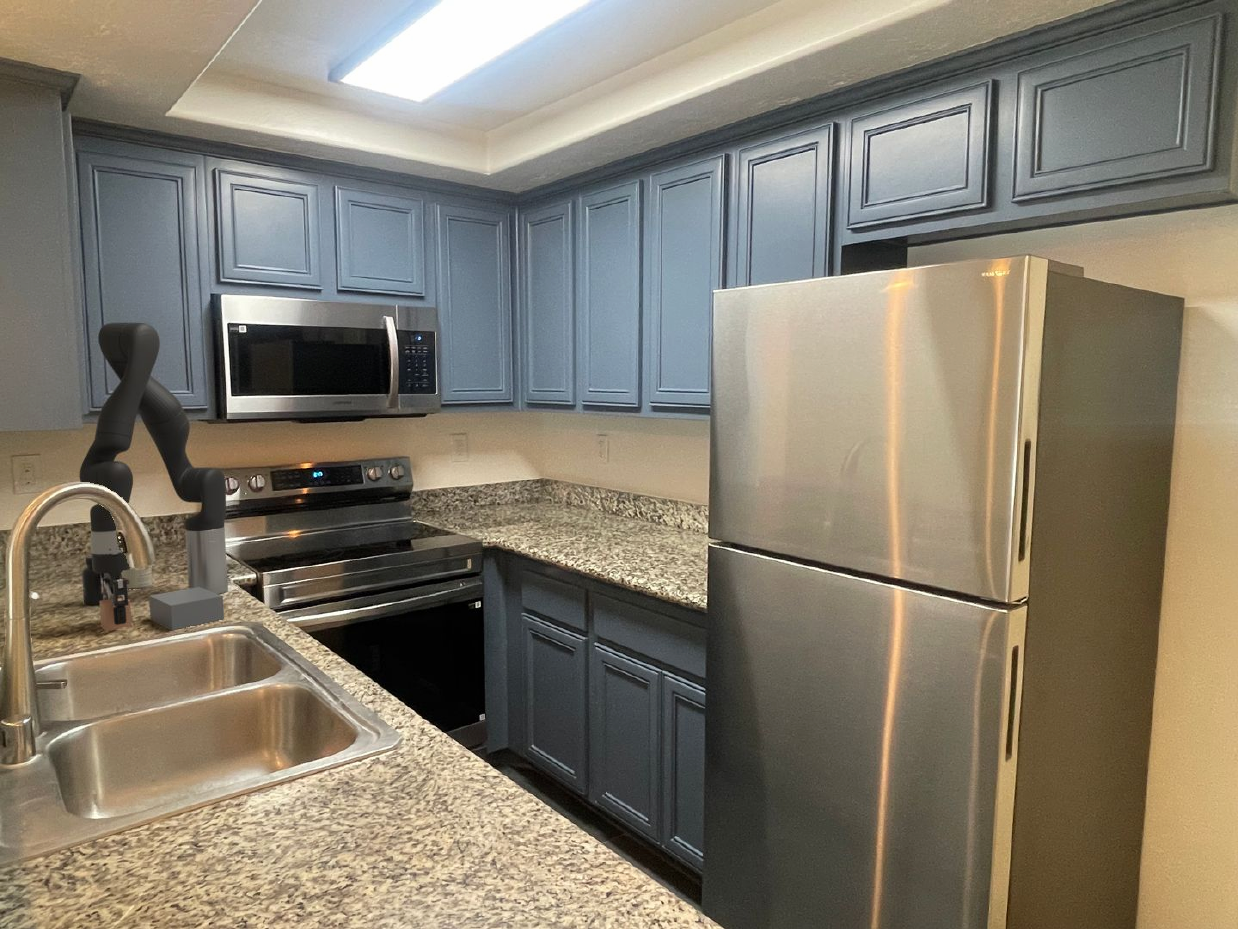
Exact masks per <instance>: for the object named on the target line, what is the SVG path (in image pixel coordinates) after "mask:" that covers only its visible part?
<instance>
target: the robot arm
mask: <svg viewBox="0 0 1238 929" xmlns="http://www.w3.org/2000/svg"><path fill="white" fill-rule="evenodd" d="M97 340H98V345H99V348H100V351H101V353H102V355H103V357H104V358H105V360H106V361H107V363H108V365H109V366H110V367H111V370H113V373H115V375H116V376H117V378H118V379H119V384H117V386H116V387H115V389H114V390H113V392H112V393H111V394H110V396H109V397H108V398H107V399H106V401H105V402H104V404H103V406H102V407H101V409H100V412H99V414H98V415H99V416H98V419H97V425H96V431H95V436H94V439H93V441H92V443H91V445H90V448H89V449H88V451H87V452H86V454H85V457H84V459H83V461H82V463H81V466H80V468H79V481H80V483H81V482H90V483H94V484H99V485H103V486H105V487H107V488H108V489H110V490H111V491H114V492H116V493H117V494H118V495H119V496H120V497H123V499H124V500H125V501H126V502H127V503H129V504H130V500H131V495H132V491H133V490H132V489H133V485H134V475H133V472H132V469H131V467H130V466H129V465H127V463H125V462H123V461H121V460H119V461H118V460H115V459H116V457H117V456H118V455H119V454H121V453H123V452H124V453H125V452H127V451H129V449H130V448H131V444H132V440H133V435H134V430H135V425H136V420H137V419H136V418H137V415H138V414H139V416H140V418H141V421H142V422H143V424H144V426H145V428H146V430H147V432H148V434H149V436H150V437H151V439H152V440H153V443H154V444H155V447H156V448H157V450H158V453H159V454H160V457H161V459H162V461H163V463H164V466H165V468H166V471H167V473H168V476H169V478H170V479H169V480H170V481H171V485H172V487H173V489H174V491H175V493H176V494H177V496H178V498H180V499H181V501H183V502H185V503H191V504H193V503H200V504H201V509H200V511H199V512H198V513H196V514H195V515H192V516H188V517H187V518H186V519H185V520H184V532H185V546H186V549H185V550H186V561H187V562H186V563H187V564H186V565H187V581H188V589H190V588H196V587H201V588H203V589H206V590H208V591H211V592H214V593H216V594H219V595H221V594H223V593H226V592H228V591H229V582H228V564H227V563H228V562H227V549H226V548H227V546H226V533H225V519H226V515H227V484H226V482H227V481H226V477H225V474H224V473H223V470H221V469H219V468H217V467H194V466H193V465H192V463H191V462H190V460H189V457H188V455H187V452H186V446H187V444H188V443H187V442H188V439H189V435H190V429H191V425H190V424H191V423H190V421H189V418H188V417H187V415H186V412H185V410H184V407H183V406H182V403H181V402H180V401H179V399H178V398H177V397H176V396H175V395H174V394H173V392H171V391H170V390H169V389H168V388H166V387H165V386H164V385H163V384H162V383H160V382H159V381H158V380H156V379H155V378H154V377H153V376H152V375H151V374H152V371H153V369H154V366H155V364H156V361H157V358H158V356H159V355H158V354H159V352H160V346H161V342H160V336H159V334H158V331H157V330H156V329H155V327H153V325H151V324H149V323H145V322H110V323H106V324H104V325H102V327H101V328H100V329H99V332H98V336H97ZM99 504H100V503H97V504H94V505H93V506H91V508H90V509H89V510H90V511H89V514H90V515H89V517H90V530H91V532H90V533H91V536H90V552H91V556H92V569H93V571H94V572H95V573H100V577H101V595H102V597H103V599H104V600H108V599H109V600H111V601H112V604H113V605H112V606H113V611H114V623H115V624H116V625H119V624H124V623H126V607H125V606H127V605H128V603H129V601H128V599H129V597H128V596H129V594H128V592H129V591H127V580H126V578H123V572H122V571H124V570H128V569H130V567H129V564H128V563H127V559H126V556H125V555H124V554H123V552H121V551H120V550H119V547H118V544H117V536H116V526H115V523H114V520H113V518H112V516H111V514H110V512H109V511H108V510H106V509H105V508H104V507H102V506H101V505H99ZM119 598H121V599H122V601H118V599H119Z"/></svg>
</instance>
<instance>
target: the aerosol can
mask: <svg viewBox="0 0 1238 929" xmlns="http://www.w3.org/2000/svg"><path fill="white" fill-rule="evenodd" d="M145 525H146V527H147V528H148V531H149V532H150V528H149V525H148V524H145ZM122 578H126V580H127V589H128V590H129V589H131V590H133V589H145V590H147V589H146V588H149V587H151V586H152V585H153V568H152V566H151V567H150V568H148V569H147V570H132V569H128V570H124V571H122ZM149 589H150V588H149Z"/></svg>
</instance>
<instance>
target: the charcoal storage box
mask: <svg viewBox="0 0 1238 929" xmlns="http://www.w3.org/2000/svg"><path fill="white" fill-rule="evenodd" d="M148 600H149V613H150V621H152V620H153V621H152V622H154V621H155V622H154V623H156V624H158V625H160V626H162V627H164V628H166V629H168V630H170V631H172V632H173V631H180V630H184V629H187V628H186V627H189V628H191V627H190V626H194V627H198V626H197V625H199V626H202V625H201V624H204V625H206V624H205V623H208V624H211V623H210V622H213V623H216V622H215V621H218V622H220V621H219V620H223V619H224V620H225V616H224V615H225V612H224V610H225V609H224V596H223V595H221V594H216V593H214V592H211V591H208V590H206V589H203V588H201V587H196V588H190V589H189V588H186V589H185V588H184V589H180V590H179V589H178V590H175V591H168V592H163V593H157V594H150V595H149V596H148ZM224 620H223V621H224ZM183 628H184V629H183ZM179 629H180V630H179Z"/></svg>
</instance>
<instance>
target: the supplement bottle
mask: <svg viewBox="0 0 1238 929" xmlns="http://www.w3.org/2000/svg"><path fill="white" fill-rule="evenodd" d="M85 566H86V567H84V568H83V569H82V571H81V584H82V598H83V604H84V605H85V606H89V607H90V606H91V607H92V606H94V607H95V606H97V607H98V606H100V602H99V601H101V600H104V599H103V597H102V595H101V577H100V573H95V572H94V571H93V569H92V555H89V556H86V557H85Z"/></svg>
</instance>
